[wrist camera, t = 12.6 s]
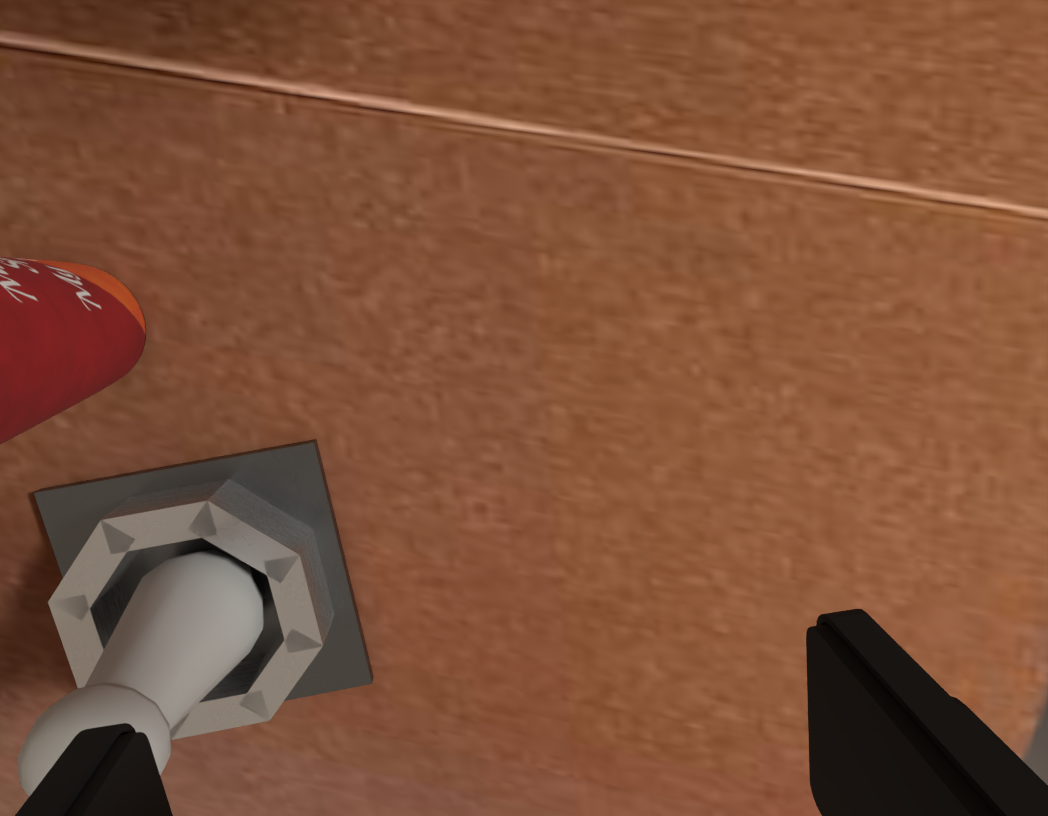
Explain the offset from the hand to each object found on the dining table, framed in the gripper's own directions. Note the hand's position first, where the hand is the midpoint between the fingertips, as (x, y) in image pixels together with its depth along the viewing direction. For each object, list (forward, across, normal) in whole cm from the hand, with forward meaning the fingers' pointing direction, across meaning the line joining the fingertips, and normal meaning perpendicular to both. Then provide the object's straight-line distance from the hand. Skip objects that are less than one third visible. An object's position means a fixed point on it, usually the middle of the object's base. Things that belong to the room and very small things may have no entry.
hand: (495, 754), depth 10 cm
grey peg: (+24, +14, +9) cm, 29 cm away
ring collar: (+25, +14, +9) cm, 30 cm away
